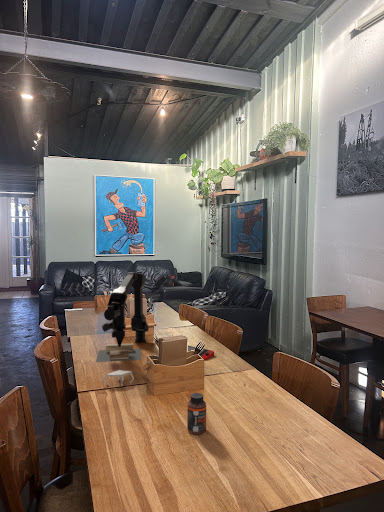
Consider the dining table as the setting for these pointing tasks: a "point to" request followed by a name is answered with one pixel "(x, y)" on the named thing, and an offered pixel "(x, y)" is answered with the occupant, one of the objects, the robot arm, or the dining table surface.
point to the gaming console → (203, 352)
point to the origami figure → (119, 373)
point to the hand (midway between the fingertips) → (119, 346)
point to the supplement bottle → (196, 414)
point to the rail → (115, 347)
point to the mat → (106, 357)
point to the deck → (119, 354)
